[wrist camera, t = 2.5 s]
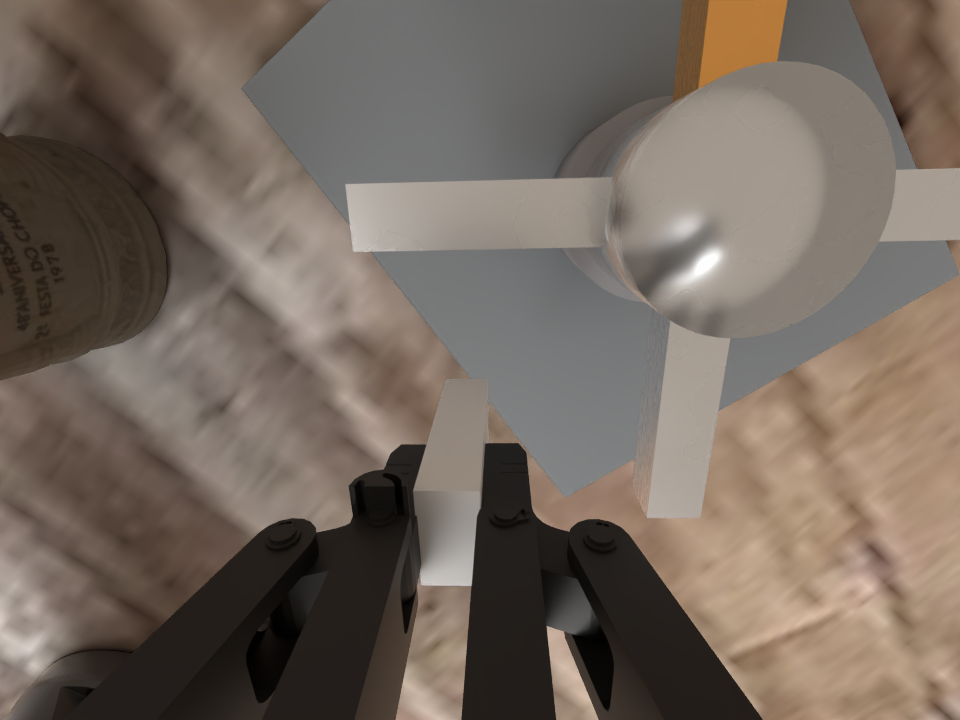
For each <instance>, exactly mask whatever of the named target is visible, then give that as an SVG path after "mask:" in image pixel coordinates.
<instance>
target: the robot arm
mask: <svg viewBox="0 0 960 720" xmlns="http://www.w3.org/2000/svg"><path fill="white" fill-rule="evenodd" d="M349 491H350V498H351V505H352V512H353V518H352V520H351V522H350V524H348V525H346V526H343V527H339V528H336V529H332V530H327V531H322V532H318V533H316V528H315V527H314V525H313V524H312V523H311V522H310V521H307V520H305V519H295V518H291V519H287V520H282V521H279V522H276V523H274V524H272V525H270V526H268V527H266V528H265V529H264V530H262V531H261V532H260V533H258V534H257V535H256V536H255V537H254V538H253V539H252V540H251V541H250V542H249V543H248V544H247V545H246V546H245V547H244V548H242V549H241V550H240V551H239V552H238V553H237V554H236V555H235V556H234V557H233V558H232V559H231V560H230V561H229V562H228V563H227V564H226V565H225V566H224V567H223V568H221V569H220V570H219V571H218V572H217V573H216V574H215V575H214V576H213V577H212V578H211V579H210V580H209V581H208V582H207V583H206V584H205V585H204V586H203V587H201V588H200V589H199V590H198V591H197V592H196V593H195V594H194V595H193V596H192V597H191V598H190V599H189V600H188V601H187V602H186V603H185V604H184V605H183V606H182V607H180V608H179V609H178V610H177V611H176V612H175V613H174V614H173V615H172V616H171V617H170V618H169V619H168V620H167V621H166V622H165V623H164V624H163V625H162V626H160V627H159V628H158V629H157V630H156V631H155V632H154V633H153V634H152V635H151V636H150V637H149V638H148V639H147V640H146V641H145V642H144V643H143V644H142V645H141V646H139V647H138V648H137V649H136V650H135V651H134V652H133V653H132V654H131V653H125V652H118V651H87V652H81V653H76V654H72V655H69V656H67V657H64V658H62V659H60V660H58V661H56V662H55V663H53V664H52V665H51V666H49V667H48V668H47V669H46V670H45V671H44V672H43V673H42V674H41V676H40V677H39V678H38V679H37V680H36V681H35V682H34V683H33V684H32V685H31V686H30V687H29V688H28V689H27V690H26V691H25V692H24V694H23V695H22V696H21V697H20V698H19V700H18V701H17V702H16V704H15V705H14V707H13V709H12V710H11V712H10V714H9V716H8V717H7V719H6V720H395V719H396V714H397V708H398V703H399V698H400V693H401V688H402V683H403V678H404V673H405V668H406V663H407V657H408V652H409V647H410V642H411V637H412V632H413V627H414V622H415V617H416V612H417V606H418V594H417V583H418V578H419V573H420V576H421V585H442V586H472V588H471V601H470V614H469V627H468V641H467V654H466V667H465V680H464V693H463V707H462V720H556V714H555V704H554V695H553V685H552V675H551V666H550V656H549V646H548V637H547V627H546V626H549V627H552V628H555V629H558V630H561V631H564V634H565V639H566V641H567V643H568V646H569V648H570V651H571V653H572V656H573V658H574V660H575V663H576V665H577V668H578V670H579V673H580V675H581V677H582V680H583V682H584V685H585V687H586V690H587V692H588V694H589V697H590V699H591V702H592V704H593V707H594V709H595V711H596V714H597V716H598V719H599V720H763V719H762V718H761V716H760V715H759V714H758V712H757V711H756V710H755V708H754V707H753V705H752V704H751V703H750V701H749V700H748V698H747V697H746V696H745V694H744V693H743V692H742V690H741V689H740V687H739V686H738V685H737V683H736V682H735V681H734V679H733V678H732V676H731V675H730V674H729V672H728V671H727V669H726V668H725V667H724V665H723V664H722V663H721V661H720V660H719V658H718V657H717V656H716V654H715V653H714V652H713V650H712V649H711V647H710V646H709V645H708V643H707V642H706V640H705V639H704V638H703V636H702V635H701V634H700V632H699V631H698V629H697V628H696V627H695V625H694V624H693V623H692V621H691V620H690V618H689V617H688V616H687V614H686V613H685V611H684V610H683V609H682V607H681V606H680V605H679V603H678V602H677V600H676V599H675V598H674V596H673V595H672V594H671V592H670V591H669V589H668V588H667V587H666V585H665V584H664V583H663V581H662V580H661V578H660V577H659V576H658V574H657V573H656V571H655V570H654V569H653V567H652V566H651V565H650V563H649V562H648V560H647V559H646V558H645V556H644V555H643V554H642V552H641V551H640V549H639V548H638V547H637V545H636V544H635V542H634V541H633V540H632V538H631V537H630V536H629V534H627V533H626V532H625V531H624V530H623V529H622V528H621V527H619V526H617V525H615V524H613V523H611V522H608V521H604V520H600V519H589V520H584V521H581V522H578V523H577V524H575V525H574V526H573V527H572V528H571V529H570V532H568V531H564V530H560V529H556V528H554V527H551V526H549V525H547V524H545V523H543V522H542V521H541V520H539V519H538V518H537V517H536V515H535V514H534V512H533V509H532V505H531V495H530V485H529V475H528V465H527V455H526V452H525V451H524V449H523V448H522V447H521V446H520V445H519V444H518V443H489V425H488V379H446V380H445V383H444V387H443V390H442V393H441V397H440V400H439V404H438V407H437V411H436V414H435V417H434V421H433V424H432V428H431V431H430V435H429V438H428V441H427V445H400V446H399V447H398V448H397V449H395V450H394V451H393V452H392V453H391V454H390V456H389V459H388V461H387V463H386V466H385V468H384V470H376V471H371V472H368V473H365V474H363V475H361V476H359V477H358V478H356V479H355V480H354V481H353V482H352V483H351V484H350V485H349Z"/></svg>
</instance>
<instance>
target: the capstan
mask: <svg viewBox="0 0 960 720" xmlns="http://www.w3.org/2000/svg"><path fill="white" fill-rule="evenodd" d="M786 6H787V0H683V5H682V15H681V24H680V34H679V43H678V53H677V62H676V72H675V81H674V91H673V101H672V103H670V104H668V105H666V106H665V107H663V108H661V109H659V110H657V111H655V112H653V113H651V114H649V115H647V116H645V117H644V118H642V119H640V120H638V121H636V122H634V123H632V124H631V125H629V126H627V127H626V128H625V129H623V130H622V131H620V132H619V133H618V134H617V135H616V136H614V137H613V138H612V139H611V140H610V141H609V142H608V143H607V144H606V146H605V147H604V148H603V149H602V150H601V151H600V153H599V154H598V156H597V157H596V159H595V160H594V162H593V164H592V166H591V168H590V170H589V172H588V174H587V176H586V178H560V179H521V180H483V181H444V182H405V183H367V184H345V186H346V195H347V203H348V212H349V221H350V230H351V238H352V247H353V252H380V251H431V250H481V249H532V248H582V247H586V248H587V250H588V252H589V254H590V255H591V257H592V259H593V260H594V262H595V263H596V264H597V265H598V266H599V268H600V269H601V270H602V271H604V272H605V273H606V274H607V275H608V276H609V277H611V278H612V279H613V280H615V281H616V282H618V283H619V284H620V285H622V286H623V287H624V288H626V289H627V290H629V291H630V292H631V293H633V294H634V295H635V296H637V297H638V298H640V299H641V300H642V301H644V302H645V303H646V304H648V305H649V306H651V311H650V320H649V330H648V339H647V349H646V358H645V368H644V377H643V387H642V397H641V406H640V416H639V425H638V435H637V444H636V454H635V463H634V473H633V482H632V487H633V490H634V492H635V494H636V496H637V498H638V500H639V503H640V505H641V507H642V509H643V511H644V513H645V516H646V518H700V516H701V510H702V504H703V498H704V492H705V487H706V481H707V475H708V469H709V463H710V457H711V451H712V445H713V439H714V433H715V427H716V421H717V415H718V409H719V403H720V397H721V392H722V386H723V380H724V374H725V368H726V362H727V356H728V350H729V344H730V338H747V337H754V336H759V335H764V334H768V333H772V332H775V331H778V330H781V329H784V328H786V327H789V326H791V325H793V324H795V323H798V322H800V321H801V320H803V319H805V318H807V317H809V316H810V315H812V314H814V313H815V312H817V311H818V310H820V309H821V308H822V307H824V306H825V305H827V304H828V303H829V302H830V301H832V300H833V299H834V298H835V297H836V296H837V295H838V294H840V293H841V292H842V291H843V290H844V289H845V288H846V287H847V286H848V285H849V284H850V282H851V281H852V280H853V279H854V278H855V277H856V276H857V275H858V273H859V272H860V271H861V269H862V268H863V267H864V265H865V264H866V263H867V261H868V259H869V258H870V256H871V254H872V253H873V251H874V249H875V248H876V246H877V244H878V242H884V241H935V240H960V168H946V169H908V170H896V167H895V154H894V149H893V144H892V140H891V136H890V133H889V131H888V128H887V126H886V123H885V121H884V119H883V117H882V115H881V114H880V112H879V110H878V108H877V107H876V105H875V104H874V103H873V102H872V100H871V99H870V98H869V97H868V96H867V94H866V93H865V92H864V91H863V90H861V89H860V88H859V87H858V86H857V85H856V84H854V83H853V82H852V81H851V80H849V79H847V78H845V77H844V76H842V75H840V74H839V73H837V72H835V71H832V70H829V69H827V68H824V67H821V66H819V65H814V64H809V63H804V62H790V61H778V62H777V59H778V53H779V47H780V41H781V36H782V30H783V24H784V18H785V12H786Z"/></svg>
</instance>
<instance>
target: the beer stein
mask: <svg viewBox="0 0 960 720" xmlns="http://www.w3.org/2000/svg"><path fill="white" fill-rule="evenodd" d="M166 284H167V269H166V253H165V250H164V247H163V244H162V241H161V237H160V234H159V231H158V228H157V225H156V223H155V221H154V219H153V217H152V216H151V214H150V212H149V210H148V208H147V207H146V205H145V204H144V203H143V201H142V200H141V199H140V198H139V196H138V195H137V194H136V192H135V191H134V190H133V189H132V187H131V186H130V185H129V183H128V182H127V181H126V180H125V179H124V178H123V177H122V176H120V175H119V174H118V173H117V172H116V171H114V170H113V169H112V168H110V167H109V166H107V165H106V164H104V163H103V162H101V161H100V160H99V159H97V158H96V157H94V156H92V155H90V154H88V153H86V152H85V151H83V150H81V149H79V148H76V147H73V146H71V145H68V144H65V143H63V142H58V141H53V140H48V139H43V138H38V137H28V136H13V137H6V136H5V135H3V134H2V133H0V380H3V379H7V378H11V377H14V376H18V375H22V374H26V373H30V372H33V371H36V370H38V369H41V368H44V367H46V366H49V365H51V364H56V363H61V362H65V361H69V360H73V359H75V358H77V357H80V356H82V355H84V354H86V353H88V352H89V351H91V350H94V349H99V348H104V347H108V346H111V345H115V344H119V343H122V342H124V341H126V340H128V339H130V338H132V337H134V336H135V335H137V334H138V333H139V332H141V331H142V330H143V329H144V328H145V327H146V326H147V325H148V323H149V322H150V321H151V320H152V319H153V318H154V317H155V316H156V314H157V312H158V310H159V308H160V305H161V303H162V301H163V299H164V296H165V290H166Z"/></svg>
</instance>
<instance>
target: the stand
mask: <svg viewBox="0 0 960 720" xmlns="http://www.w3.org/2000/svg"><path fill="white" fill-rule="evenodd" d="M682 5H683V0H330V1H329V2H328V3H327V4H326V5H325V6H324V7H323V8H322V9H321V10H320V11H319V12H318V13H317V14H316V15H315V16H314V17H313V18H312V19H311V20H310V21H309V22H308V23H307V24H306V25H305V26H304V27H303V28H302V29H301V30H300V31H299V32H298V33H297V34H296V35H295V36H294V37H293V38H292V39H291V40H290V41H289V42H288V43H287V44H286V45H285V46H284V47H283V48H282V49H281V50H280V51H279V52H278V53H276V54H275V55H274V56H273V57H272V58H271V59H270V60H269V61H268V62H267V63H266V64H265V65H264V66H263V67H262V68H261V69H260V70H259V71H258V72H257V73H256V74H255V75H254V76H253V77H252V78H251V79H250V80H249V81H248V82H247V83H246V84H245V85H244V86H243V87H242V88H241V89H242V90H243V92H244V93H245V94H246V95H247V97H248V98H249V99H250V100H251V102H252V103H253V104H254V105H255V107H256V108H257V109H258V111H259V112H260V113H261V114H262V116H263V117H264V118H265V119H266V121H267V122H268V123H269V124H270V126H271V127H272V128H273V129H274V131H275V132H276V133H277V135H278V136H279V137H280V138H281V140H282V141H283V142H284V143H285V145H286V146H287V147H288V148H289V150H290V151H291V152H292V153H293V155H294V156H295V157H296V159H297V160H298V161H299V162H300V164H301V165H302V166H303V167H304V169H305V170H306V171H307V172H308V174H309V175H310V176H311V177H312V179H313V180H314V181H315V183H316V184H317V185H318V186H319V188H320V189H321V190H322V191H323V193H324V194H325V195H326V196H327V198H328V199H329V200H330V202H331V203H332V204H333V205H334V207H335V208H336V209H337V210H338V212H339V213H340V214H341V215H342V217H343V218H344V219H345V220H346V222H347V223H348V224H349V226H350V221H349V212H348V203H347V195H346V186H345V184H367V183H405V182H444V181H483V180H521V179H560V178H586V176H587V174H588V172H589V170H590V168H591V166H592V164H593V162H594V160H595V159H596V157H597V156H598V154H599V153H600V151H601V150H602V149H603V148H604V147H605V146H606V144H607V143H608V142H609V141H610V140H611V139H612V138H613V137H614V136H616V135H617V134H618V133H619V132H620V131H622V130H623V129H625V128H626V127H627V126H629V125H631V124H632V123H634V122H636V121H638V120H640V119H642V118H644V117H645V116H647V115H649V114H651V113H653V112H655V111H657V110H659V109H661V108H663V107H665V106H666V105H668V104H670V103H672V101H673V91H674V81H675V72H676V62H677V53H678V43H679V34H680V24H681V15H682ZM778 61H790V62H804V63H809V64H814V65H819V66H821V67H824V68H827V69H829V70H832V71H835V72H837V73H839V74H840V75H842V76H844V77H845V78H847V79H849V80H851V81H852V82H853V83H854V84H856V85H857V86H858V87H859V88H860V89H861V90H863V91H864V92H865V93H866V94H867V96H868V97H869V98H870V99H871V100H872V102H873V103H874V104H875V105H876V107H877V108H878V110H879V112H880V114H881V115H882V117H883V119H884V121H885V123H886V126H887V128H888V131H889V133H890V136H891V140H892V144H893V149H894V154H895V167H896V170H908V169H917V168H916V165H915V163H914V160H913V158H912V155H911V153H910V150H909V148H908V145H907V143H906V140H905V138H904V135H903V133H902V130H901V128H900V125H899V123H898V120H897V118H896V115H895V113H894V110H893V108H892V105H891V103H890V100H889V98H888V95H887V93H886V91H885V88H884V86H883V83H882V81H881V78H880V76H879V73H878V71H877V68H876V66H875V63H874V61H873V58H872V56H871V53H870V51H869V48H868V46H867V43H866V41H865V38H864V36H863V33H862V31H861V28H860V26H859V23H858V21H857V18H856V16H855V13H854V11H853V9H852V6H851V4H850V1H849V0H787V6H786V12H785V18H784V24H783V30H782V36H781V41H780V47H779V53H778V59H777V62H778ZM371 253H372V255H373V256H374V257H375V258H376V260H377V261H378V262H379V263H380V265H381V266H382V267H383V268H384V270H385V271H386V272H387V274H388V275H389V276H390V277H391V279H392V280H393V281H394V282H395V284H396V285H397V286H398V287H399V289H400V290H401V291H402V292H403V294H404V295H405V296H406V298H407V299H408V300H409V301H410V303H411V304H412V305H413V306H414V308H415V309H416V310H417V311H418V313H419V314H420V315H421V316H422V318H423V319H424V320H425V322H426V323H427V324H428V325H429V327H430V328H431V329H432V330H433V332H434V333H435V334H436V335H437V337H438V338H439V339H440V340H441V342H442V343H443V344H444V346H445V347H446V348H447V349H448V351H449V352H450V353H451V354H452V356H453V357H454V358H455V359H456V361H457V362H458V363H459V364H460V366H461V367H462V368H463V370H464V371H465V372H466V373H467V375H468V376H469V377H470V378H471V379H488V401H489V402H490V404H491V405H492V406H493V407H494V409H495V410H496V411H497V413H498V414H499V415H500V416H501V418H502V419H503V420H504V421H505V423H506V424H507V425H508V426H509V428H510V429H511V430H512V431H513V433H514V434H515V435H516V437H517V438H518V439H519V440H520V442H521V443H522V444H523V445H524V447H525V448H526V449H527V450H528V452H529V453H530V454H531V455H532V457H533V458H534V459H535V461H536V462H537V463H538V464H539V466H540V467H541V468H542V469H543V471H544V472H545V473H546V474H547V476H548V477H549V478H550V479H551V481H552V482H553V483H554V485H555V486H556V487H557V488H558V490H559V491H560V492H561V493H562V495H563V496H564V497H565V498H566V497H568V496H569V495H571V494H573V493H575V492H576V491H578V490H580V489H582V488H583V487H585V486H587V485H589V484H591V483H592V482H594V481H596V480H598V479H599V478H601V477H603V476H605V475H606V474H608V473H610V472H612V471H613V470H615V469H617V468H619V467H621V466H622V465H624V464H626V463H628V462H629V461H631V460H633V459H635V454H636V444H637V435H638V425H639V416H640V406H641V397H642V387H643V377H644V368H645V358H646V349H647V339H648V330H649V320H650V311H651V306H649V305H648V304H646V303H645V302H644V301H642V300H641V299H640V298H638V297H637V296H635V295H634V294H633V293H631V292H630V291H629V290H627V289H626V288H624V287H623V286H622V285H620V284H619V283H618V282H616V281H615V280H613V279H612V278H611V277H609V276H608V275H607V274H606V273H605V272H604V271H602V270H601V269H600V268H599V266H598V265H597V264H596V263H595V262H594V260H593V259H592V257H591V255H590V254H589V252H588V250H587V248H586V247H582V248H532V249H481V250H431V251H380V252H371ZM958 275H960V274H959V272H958V269H957V267H956V264H955V262H954V259H953V257H952V254H951V252H950V249H949V247H948V245H947V242H946V240H935V241H884V242H878V244H877V246H876V248H875V249H874V251H873V253H872V254H871V256H870V258H869V259H868V261H867V263H866V264H865V265H864V267H863V268H862V269H861V271H860V272H859V273H858V275H857V276H856V277H855V278H854V279H853V280H852V281H851V282H850V284H849V285H848V286H847V287H846V288H845V289H844V290H843V291H842V292H841V293H840V294H838V295H837V296H836V297H835V298H834V299H833V300H832V301H830V302H829V303H828V304H827V305H825V306H824V307H822V308H821V309H820V310H818V311H817V312H815V313H814V314H812V315H810V316H809V317H807V318H805V319H803V320H801V321H800V322H798V323H795V324H793V325H791V326H789V327H786V328H784V329H781V330H778V331H775V332H772V333H768V334H764V335H759V336H754V337H747V338H730V344H729V350H728V356H727V362H726V368H725V374H724V380H723V386H722V392H721V397H720V403H719V409H718V411H719V410H721V409H723V408H725V407H726V406H728V405H730V404H732V403H734V402H735V401H737V400H739V399H741V398H742V397H744V396H746V395H748V394H749V393H751V392H753V391H755V390H756V389H758V388H760V387H762V386H764V385H765V384H767V383H769V382H771V381H772V380H774V379H776V378H778V377H779V376H781V375H783V374H785V373H786V372H788V371H790V370H792V369H794V368H795V367H797V366H799V365H801V364H802V363H804V362H806V361H808V360H809V359H811V358H813V357H815V356H817V355H818V354H820V353H822V352H824V351H825V350H827V349H829V348H831V347H832V346H834V345H836V344H838V343H839V342H841V341H843V340H845V339H847V338H848V337H850V336H852V335H854V334H855V333H857V332H859V331H861V330H862V329H864V328H866V327H868V326H869V325H871V324H873V323H875V322H877V321H878V320H880V319H882V318H884V317H885V316H887V315H889V314H891V313H892V312H894V311H896V310H898V309H899V308H901V307H903V306H905V305H907V304H908V303H910V302H912V301H914V300H915V299H917V298H919V297H921V296H922V295H924V294H926V293H928V292H930V291H931V290H933V289H935V288H937V287H938V286H940V285H942V284H944V283H945V282H947V281H949V280H951V279H952V278H954V277H956V276H958Z"/></svg>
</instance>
